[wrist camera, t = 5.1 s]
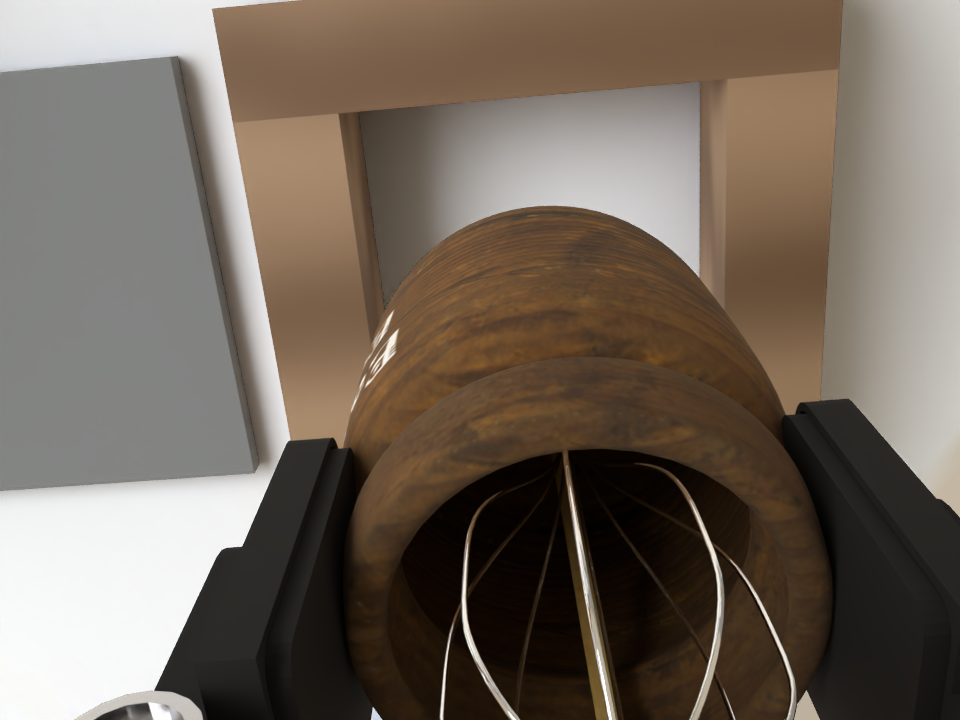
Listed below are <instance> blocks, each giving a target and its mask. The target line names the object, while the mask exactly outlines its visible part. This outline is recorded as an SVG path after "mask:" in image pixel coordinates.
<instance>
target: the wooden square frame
mask: <svg viewBox="0 0 960 720" xmlns="http://www.w3.org/2000/svg"><path fill="white" fill-rule="evenodd" d="M842 6H843V0H300V1H289V2H278V3H268V4H257V5H247V6H236V7H225V8H215V9H212V11H213V17H214V22H215V28H216V33H217V39H218V44H219V50H220V55H221V61H222V66H223V72H224V77H225V83H226V88H227V93H228V99H229V104H230V110H231V115H232V121H233V126H234V132H235V137H236V143H237V148H238V154H239V159H240V164H241V170H242V175H243V181H244V186H245V192H246V197H247V203H248V208H249V214H250V219H251V225H252V230H253V236H254V241H255V246H256V252H257V257H258V263H259V268H260V274H261V279H262V285H263V290H264V296H265V301H266V307H267V312H268V318H269V323H270V328H271V334H272V339H273V345H274V350H275V356H276V361H277V367H278V372H279V378H280V383H281V389H282V394H283V399H284V405H285V410H286V416H287V421H288V427H289V432H290V438H291V441H294V440H307V439H320V438H334V439H335V440H336V443H337V446H338V449H339V448H343V445H344V439H345V434H346V430H347V425H348V421H349V417H350V413H351V409H352V405H353V401H354V398H355V394H356V391H357V387H358V384H359V381H360V378H361V374H362V371H363V368H364V365H365V362H366V358H367V355H368V352H369V349H370V346H371V343H372V340H373V338H374V335H375V332H376V330H377V327H378V325H379V323H380V320H381V318H382V316H383V313H384V311H385V310H384V302H383V295H382V287H381V279H380V272H379V264H378V257H377V249H376V242H375V234H374V227H373V219H372V211H371V204H370V196H369V189H368V181H367V174H366V166H365V159H364V151H363V144H362V136H361V128H360V121H359V113H358V112H361V111H372V110H383V109H395V108H406V107H417V106H428V105H440V104H451V103H462V102H474V101H485V100H496V99H508V98H519V97H530V96H542V95H553V94H564V93H576V92H587V91H598V90H610V89H621V88H632V87H644V86H655V85H666V84H678V83H689V82H700V280H701V281H702V282H703V283H704V285H705V286H706V287H707V288H708V290H709V291H710V292H711V294H712V295H713V296H714V297H715V299H716V300H717V301H718V303H719V304H720V305H721V307H722V308H723V309H724V311H725V312H726V313H727V315H728V316H729V317H730V319H731V320H732V322H733V323H734V324H735V326H736V327H737V328H738V330H739V331H740V333H741V334H742V336H743V337H744V338H745V340H746V341H747V343H748V344H749V346H750V347H751V349H752V350H753V352H754V354H755V355H756V357H757V358H758V360H759V361H760V363H761V364H762V366H763V368H764V370H765V371H766V373H767V375H768V377H769V379H770V381H771V383H772V384H773V386H774V388H775V390H776V392H777V394H778V397H779V399H780V401H781V404H782V406H783V409H784V411H785V414H786V415H794V414H795V412H796V409H797V406H798V405H799V403H800V402H813V401H820V392H821V375H822V357H823V340H824V322H825V304H826V287H827V269H828V252H829V234H830V217H831V199H832V181H833V164H834V146H835V129H836V111H837V94H838V76H839V58H840V41H841V23H842Z"/></svg>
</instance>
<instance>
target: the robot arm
mask: <svg viewBox="0 0 960 720" xmlns="http://www.w3.org/2000/svg"><path fill="white" fill-rule="evenodd" d="M781 424H782V431H783V438H784V447H785V450H786V451H787V453H788V454H789V456H790V457H791V459H792V460H793V462H794V463H795V465H796V467H797V468H798V470H799V472H800V474H801V476H802V478H803V480H804V482H805V484H806V486H807V488H808V490H809V492H810V495H811V497H812V500H813V502H814V505H815V509H816V512H817V515H818V518H819V522H820V525H821V528H822V532H823V535H824V539H825V543H826V547H827V551H828V555H829V560H830V565H831V570H832V579H833V614H832V623H831V628H830V633H829V638H828V642H827V645H826V648H825V651H824V655H823V657H822V660H821V662H820V665H819V667H818V669H817V672H816V674H815V675H814V677H813V679H812V681H811V683H810V685H809V687H808V688H807V692H808V693H809V696H810V698H811V700H812V702H813V705H814V707H815V709H816V711H817V714H818V716H819V718H820V720H960V517H959V516H958V515H957V514H956V513H955V512H954V511H953V510H952V508H951V507H950V506H949V505H947V504H946V503H945V502H944V501H942V500H941V499H936V498H935V497H934V495H933V494H932V493H931V492H930V491H929V490H928V489H927V487H926V486H925V485H924V484H923V483H922V482H921V481H920V479H919V478H918V477H917V476H916V475H915V474H914V472H913V471H912V470H911V469H910V468H909V467H908V466H907V464H906V463H905V462H904V461H903V460H902V459H901V457H900V456H899V455H898V454H897V453H896V452H895V451H894V449H893V448H892V447H891V446H890V445H889V444H888V443H887V441H886V440H885V439H884V438H883V437H882V436H881V434H880V433H879V432H878V431H877V430H876V429H875V428H874V426H873V425H872V424H871V423H870V422H869V421H868V420H867V418H866V417H865V416H864V415H863V414H862V413H861V411H860V410H859V409H858V408H857V407H856V406H855V405H854V403H853V402H852V401H850V400H849V399H839V400H826V401H813V402H800V403H799V405H798V406H797V409H796V412H795V414H794V415H784V416H783V418H782V421H781ZM355 504H356V491H355V477H354V454H353V451H352V449H351V448H339V449H338V446H337V443H336V440H335V439H334V438H320V439H307V440H294V441H288V443H287V444H286V446H285V449H284V451H283V453H282V456H281V458H280V460H279V463H278V465H277V467H276V470H275V472H274V474H273V476H272V479H271V481H270V483H269V486H268V488H267V490H266V493H265V495H264V497H263V500H262V502H261V504H260V507H259V509H258V511H257V514H256V516H255V518H254V521H253V523H252V525H251V528H250V530H249V532H248V535H247V537H246V539H245V542H244V544H243V546H242V547H233V548H226V549H223V550H221V552H220V553H219V555H218V556H217V558H216V560H215V562H214V564H213V566H212V568H211V570H210V572H209V575H208V577H207V579H206V581H205V583H204V585H203V587H202V590H201V592H200V594H199V596H198V598H197V600H196V602H195V605H194V607H193V609H192V611H191V613H190V615H189V617H188V620H187V622H186V624H185V626H184V628H183V630H182V632H181V635H180V637H179V639H178V641H177V643H176V645H175V647H174V650H173V652H172V654H171V656H170V658H169V660H168V662H167V665H166V667H165V669H164V671H163V673H162V675H161V677H160V679H159V682H158V684H157V686H156V688H155V690H154V691H146V692H139V693H133V694H127V695H124V696H121V697H118V698H116V699H113V700H110V701H107V702H105V703H102V704H100V705H98V706H97V707H95V708H93V709H91V710H89V711H88V712H86V713H84V714H82V715H81V716H79V717H77V718H76V719H75V720H371V715H372V708H373V706H372V704H371V703H370V701H369V699H368V697H367V696H366V694H365V692H364V690H363V688H362V686H361V684H360V682H359V680H358V677H357V675H356V672H355V669H354V667H353V664H352V661H351V657H350V653H349V649H348V645H347V639H346V632H345V624H344V609H343V552H344V545H345V538H346V533H347V529H348V525H349V521H350V518H351V515H352V512H353V509H354V506H355Z"/></svg>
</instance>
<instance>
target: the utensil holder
mask: <svg viewBox="0 0 960 720" xmlns="http://www.w3.org/2000/svg"><path fill="white" fill-rule="evenodd" d="M784 415H786V414H785V411H784V409H783V406H782V404H781V401H780V399H779V397H778V394H777V392H776V390H775V388H774V386H773V384H772V383H771V381H770V379H769V377H768V375H767V373H766V371H765V370H764V368H763V366H762V364H761V363H760V361H759V360H758V358H757V357H756V355H755V354H754V352H753V350H752V349H751V347H750V346H749V344H748V343H747V341H746V340H745V338H744V337H743V336H742V334H741V333H740V331H739V330H738V328H737V327H736V326H735V324H734V323H733V322H732V320H731V319H730V317H729V316H728V315H727V313H726V312H725V311H724V309H723V308H722V307H721V305H720V304H719V303H718V301H717V300H716V299H715V297H714V296H713V295H712V294H711V292H710V291H709V290H708V288H707V287H706V286H705V285H704V283H703V282H702V281H701V280H700V278H699V277H698V276H697V275H696V274H695V273H694V272H693V271H692V270H691V268H690V267H689V266H688V265H687V264H686V263H685V262H684V261H683V260H682V259H681V258H680V257H679V256H677V255H676V254H675V253H674V252H673V251H672V250H671V249H670V248H668V247H667V246H666V245H664V244H663V243H662V242H660V241H659V240H658V239H656V238H655V237H653V236H651V235H650V234H648V233H646V232H645V231H643V230H641V229H640V228H638V227H636V226H634V225H632V224H630V223H628V222H626V221H623V220H621V219H619V218H616V217H614V216H610V215H607V214H604V213H601V212H597V211H593V210H588V209H583V208H576V207H566V206H537V207H527V208H521V209H516V210H510V211H507V212H503V213H499V214H496V215H493V216H490V217H487V218H484V219H482V220H479V221H477V222H475V223H473V224H470V225H468V226H466V227H465V228H463V229H461V230H459V231H457V232H456V233H454V234H452V235H451V236H449V237H448V238H446V239H445V240H443V241H442V242H441V243H440V244H438V245H437V246H436V247H434V248H433V249H432V250H431V251H430V252H429V253H428V254H426V255H425V256H424V257H423V258H422V259H421V260H420V261H419V262H418V264H417V265H416V266H415V267H414V268H413V269H412V270H411V271H410V273H409V274H408V275H407V276H406V278H405V279H404V280H403V282H402V283H401V284H400V286H399V287H398V289H397V290H396V292H395V293H394V295H393V296H392V298H391V300H390V302H389V304H388V306H387V308H386V309H385V311H384V313H383V316H382V318H381V320H380V323H379V325H378V327H377V330H376V332H375V335H374V338H373V340H372V343H371V346H370V349H369V352H368V355H367V358H366V362H365V365H364V368H363V371H362V374H361V378H360V381H359V384H358V387H357V391H356V394H355V398H354V401H353V405H352V409H351V413H350V417H349V421H348V425H347V430H346V434H345V439H344V445H343V448H351V449H352V451H353V454H354V477H355V491H356V504H355V506H354V509H353V512H352V515H351V518H350V521H349V525H348V529H347V533H346V538H345V545H344V552H343V609H344V624H345V632H346V639H347V645H348V649H349V653H350V657H351V661H352V664H353V667H354V669H355V672H356V675H357V677H358V680H359V682H360V684H361V686H362V688H363V690H364V692H365V694H366V696H367V697H368V699H369V701H370V703H371V704H372V706H373V707H374V709H375V710H376V711H377V713H378V714H379V716H380V717H381V718H382V720H784V719H785V720H794V717H795V712H796V707H797V703H798V702H799V701H800V699H801V698H802V696H803V695H804V693H805V691H806V690H807V688H808V687H809V685H810V683H811V681H812V679H813V677H814V675H815V674H816V672H817V669H818V667H819V665H820V662H821V660H822V657H823V655H824V651H825V648H826V645H827V642H828V638H829V633H830V628H831V623H832V614H833V579H832V570H831V565H830V560H829V555H828V551H827V547H826V543H825V539H824V535H823V532H822V528H821V525H820V522H819V518H818V515H817V512H816V509H815V505H814V502H813V500H812V497H811V495H810V492H809V490H808V488H807V486H806V484H805V482H804V480H803V478H802V476H801V474H800V472H799V470H798V468H797V467H796V465H795V463H794V462H793V460H792V459H791V457H790V456H789V454H788V453H787V451H786V450H785V447H784V438H783V431H782V424H781V421H782V418H783V416H784Z"/></svg>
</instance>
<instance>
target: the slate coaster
mask: <svg viewBox="0 0 960 720" xmlns="http://www.w3.org/2000/svg"><path fill="white" fill-rule="evenodd" d="M258 465H259V460H258V455H257V450H256V445H255V440H254V435H253V430H252V425H251V420H250V415H249V410H248V405H247V400H246V395H245V390H244V385H243V380H242V375H241V370H240V365H239V360H238V355H237V350H236V345H235V340H234V335H233V330H232V325H231V320H230V315H229V310H228V305H227V300H226V295H225V290H224V285H223V280H222V275H221V270H220V265H219V260H218V255H217V250H216V245H215V240H214V235H213V230H212V225H211V220H210V215H209V210H208V205H207V200H206V195H205V190H204V185H203V180H202V175H201V169H200V164H199V159H198V154H197V149H196V144H195V139H194V134H193V129H192V124H191V119H190V114H189V109H188V104H187V99H186V94H185V89H184V84H183V79H182V74H181V69H180V64H179V59H178V56H175V57H164V58H153V59H142V60H131V61H120V62H110V63H99V64H88V65H77V66H66V67H55V68H44V69H34V70H23V71H12V72H1V73H0V491H4V490H18V489H33V488H47V487H61V486H76V485H90V484H105V483H119V482H133V481H148V480H162V479H177V478H191V477H205V476H220V475H234V474H249V473H255V471H256V469H257V467H258Z"/></svg>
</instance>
